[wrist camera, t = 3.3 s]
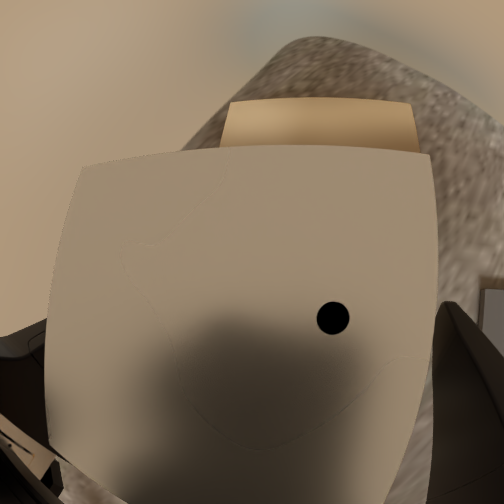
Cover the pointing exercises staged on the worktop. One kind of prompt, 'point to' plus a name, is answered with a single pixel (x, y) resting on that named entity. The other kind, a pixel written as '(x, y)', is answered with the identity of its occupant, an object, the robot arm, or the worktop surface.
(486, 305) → the rubber mat
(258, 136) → the wooden block with hole
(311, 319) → the steel bar
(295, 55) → the worktop surface
